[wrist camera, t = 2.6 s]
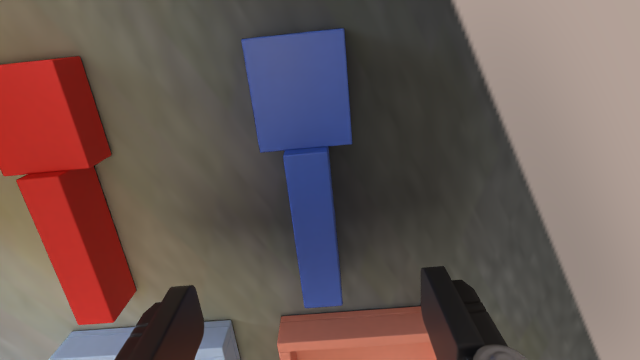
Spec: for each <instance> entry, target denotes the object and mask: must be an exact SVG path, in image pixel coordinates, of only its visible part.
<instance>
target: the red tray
mask: <svg viewBox="0 0 640 360" xmlns="http://www.w3.org/2000/svg"><path fill="white" fill-rule="evenodd" d="M277 346H278V351H279V356H280V360H437V358H436V355H435V353H434V350H433V347H432V344H431V341H430V339H429V336H428V333H427V330H426V327H425V324H424V321H423V317H422V312H421V306H417V307H404V308H390V309H376V310H362V311H348V312H335V313H321V314H307V315H293V316H282V317H281V321H280V328H279V335H278V341H277Z"/></svg>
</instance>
